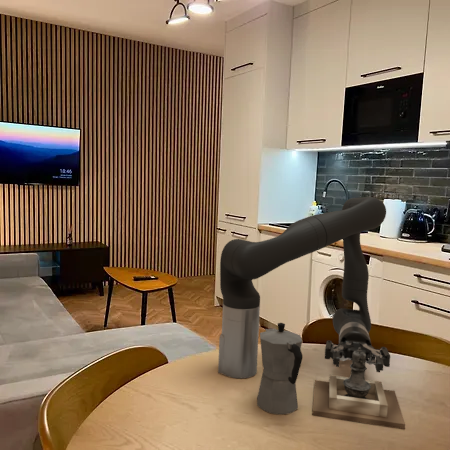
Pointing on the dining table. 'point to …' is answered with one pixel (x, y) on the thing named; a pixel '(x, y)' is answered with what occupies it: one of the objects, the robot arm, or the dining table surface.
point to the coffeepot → (279, 370)
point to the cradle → (357, 403)
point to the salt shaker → (357, 377)
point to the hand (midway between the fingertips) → (358, 365)
